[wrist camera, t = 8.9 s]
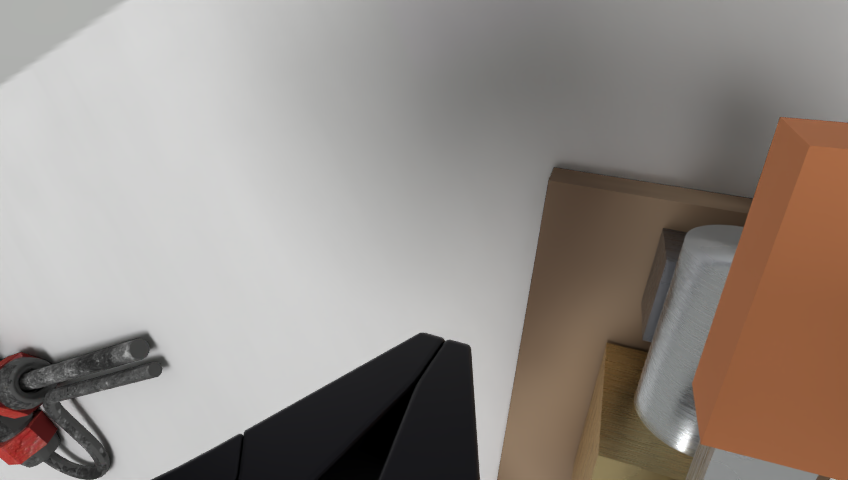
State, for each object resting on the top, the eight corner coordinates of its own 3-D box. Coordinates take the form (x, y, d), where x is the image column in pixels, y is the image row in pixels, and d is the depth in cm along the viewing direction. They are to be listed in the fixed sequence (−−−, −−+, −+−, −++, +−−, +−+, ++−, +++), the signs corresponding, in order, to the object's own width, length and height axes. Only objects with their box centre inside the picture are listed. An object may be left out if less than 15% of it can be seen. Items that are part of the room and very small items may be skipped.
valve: (60, 453, 50) (-69, 339, 44) (260, 420, 39) (123, 262, 33) (1, 517, 44) (-155, 398, 38) (211, 502, 33) (38, 331, 27)
